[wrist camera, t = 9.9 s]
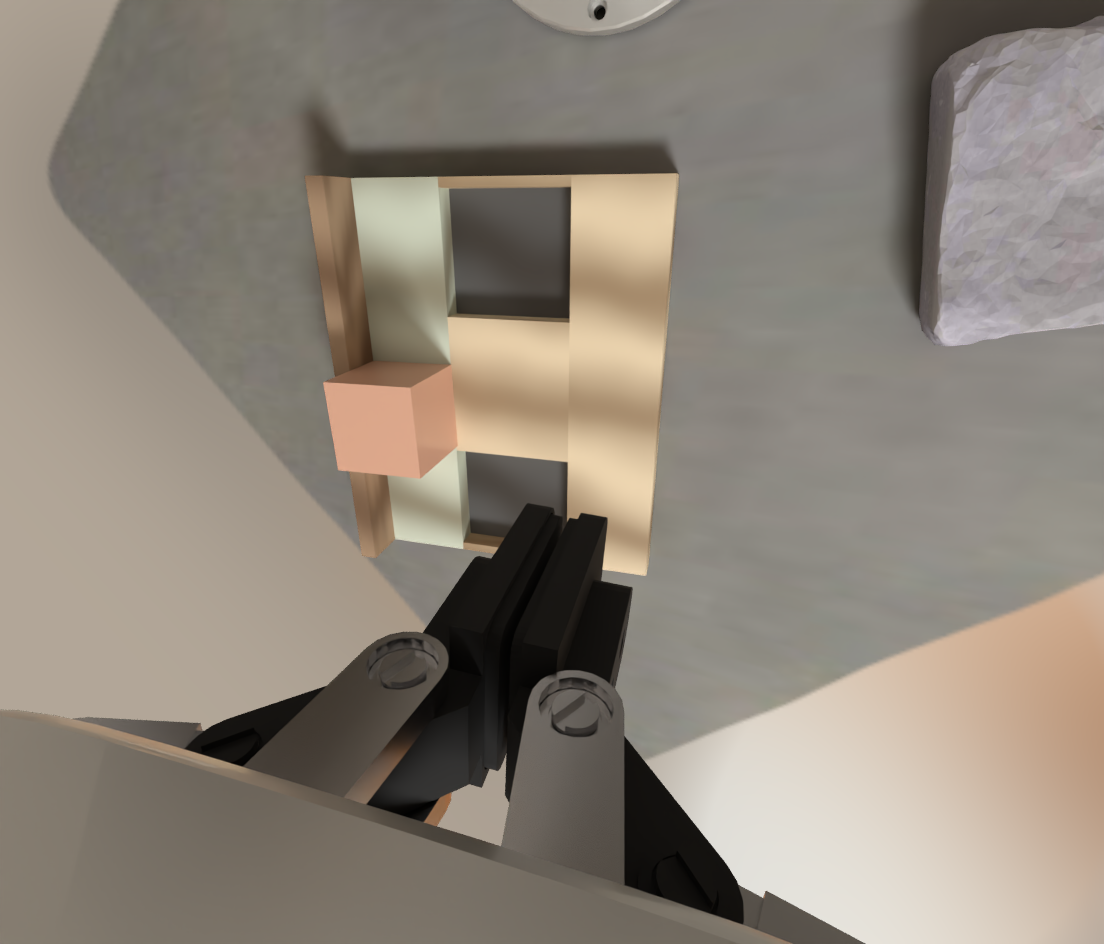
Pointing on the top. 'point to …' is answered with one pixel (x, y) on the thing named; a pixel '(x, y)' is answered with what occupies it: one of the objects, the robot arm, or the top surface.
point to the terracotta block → (392, 417)
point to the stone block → (1015, 187)
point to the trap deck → (509, 343)
